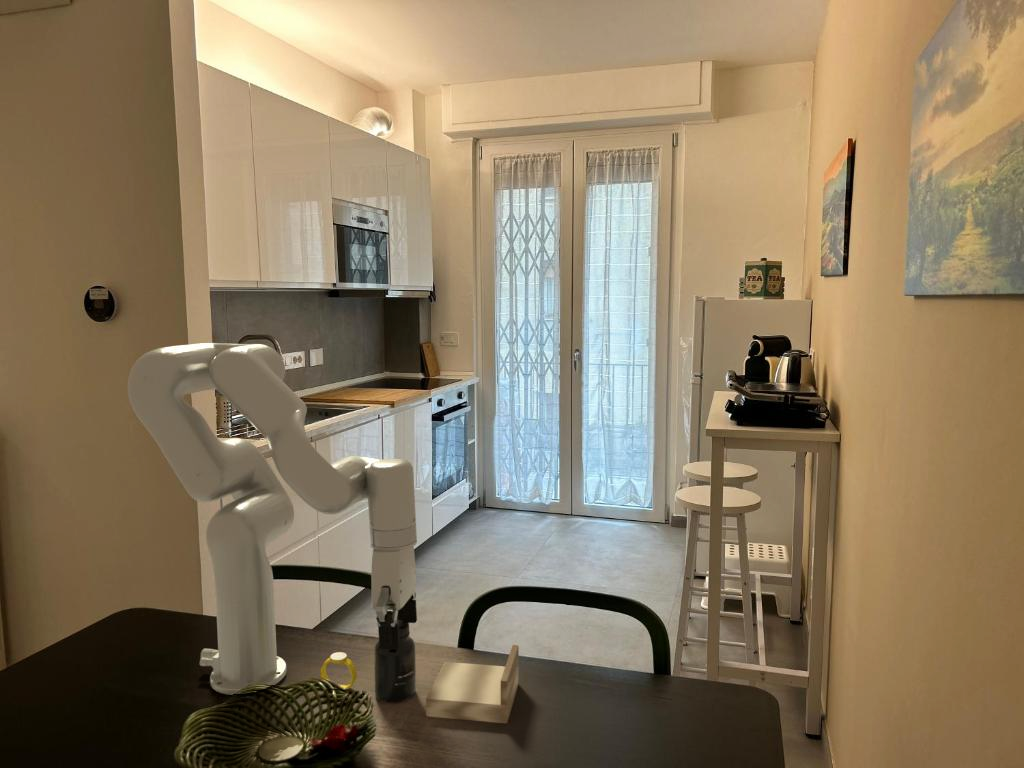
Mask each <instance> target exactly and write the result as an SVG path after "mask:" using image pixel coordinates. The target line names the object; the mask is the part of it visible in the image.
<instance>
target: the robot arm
mask: <svg viewBox="0 0 1024 768" xmlns="http://www.w3.org/2000/svg"><path fill="white" fill-rule="evenodd" d="M283 359H284V358H282V356H281V355H280V354H279V352H278V351H277V350H275V349H274V348H273V347H271V346H268V345H267V344H266V345H265V344H261V343H249V344H248V343H219V342H217V343H216V342H202V343H200V342H199V343H192V344H191V343H190V344H180V345H171V346H170V345H169V346H163V347H159V348H156V349H152V350H150V351H148V352H145V353H144V354H142V355H141V356H140V357H139V358H138V359H136V361H135V363H134V364H133V365H132V367H131V369H130V372H129V374H128V379H127V396H128V400H129V404H130V406H131V408H132V410H133V412H134V413H135V415H136V417H137V418H138V420H139V421H140V422H141V424H142V425H143V426H144V428H145V429H146V430H147V431H148V432H149V434H150V435H151V437H152V438H153V440H154V441H155V443H156V444H157V446H158V447H159V449H160V450H161V452H162V454H163V456H164V458H165V459H166V460H167V462H168V464H169V465H170V468H171V469H172V471H173V472H174V474H175V476H176V477H177V478H178V481H180V483H181V485H182V486H183V488H184V489H185V491H186V492H187V494H188V495H189V497H191V498H192V499H193V500H195V501H197V502H198V503H204V504H206V503H207V504H208V503H213V502H217V501H219V500H221V499H223V498H226V497H228V496H230V495H231V497H232V498H233V501H231V502H229V503H227V504H226V505H223V506H222V507H220V509H218V510H217V511H215V512H214V514H213V515H212V517H211V518H210V519H209V522H208V524H207V525H206V526H207V527H206V531H205V539H206V544H207V545H206V546H207V548H208V552H209V557H210V560H211V564H212V572H213V578H214V579H213V580H214V582H213V583H214V596H215V608H216V610H215V611H216V627H217V628H216V629H217V649H214V648H203V649H202V650H201V652H200V660H199V665H200V667H211V668H212V669H213V670H212V672H211V674H210V676H209V683H210V687H211V688H212V689H213V690H215V691H216V692H218V693H220V694H222V695H223V694H224V695H230V696H234V695H233V694H235V693H237V692H238V691H240V690H241V689H243V688H245V687H247V686H249V685H252V684H256V683H261V684H269V685H274V686H275V685H277V684H278V683H279V682H280V681H282V679H284V677H285V676H286V674H287V663H286V661H285V660H284V659H283V658H282V657H280V656H277V654H278V653H277V652H278V651H277V636H276V635H277V631H276V628H277V627H276V609H275V605H276V604H275V588H274V575H273V574H274V573H273V568H272V565H271V563H270V561H269V558H268V556H267V553H266V548H267V546H269V545H270V544H271V543H273V542H275V541H277V540H278V539H279V538H280V537H282V536H283V535H285V534H286V533H287V532H288V531H289V529H290V528H291V527H292V524H293V523H294V519H295V510H294V504H293V503H292V500H291V497H290V496H289V494H288V492H287V491H286V489H285V487H284V486H283V484H282V482H281V481H280V480H279V478H278V476H277V475H276V473H275V472H274V470H273V468H272V466H271V465H270V463H269V462H268V460H267V459H266V457H265V456H264V454H263V453H262V452H261V450H260V449H259V447H257V446H255V445H254V444H253V443H252V442H250V441H249V440H246V439H244V438H240V437H229V438H226V439H222V440H219V438H218V437H217V436H216V435H215V433H214V432H213V430H212V429H211V427H210V425H209V424H208V422H207V419H205V418H204V416H203V415H202V414H201V413H200V412H199V411H198V409H197V410H196V408H194V407H193V406H192V405H191V404H189V403H187V402H186V400H185V399H184V396H185V395H191V394H194V393H195V394H196V393H198V392H199V393H200V392H205V391H210V390H216V391H218V392H219V393H220V394H221V396H223V398H224V399H226V401H227V402H228V403H229V404H231V405H232V406H233V407H234V409H236V410H237V411H238V412H239V413H240V415H242V416H243V418H245V419H246V421H248V422H249V423H250V424H251V425H252V427H254V428H255V429H256V430H257V431H258V432H259V433H260V434H261V435H262V436H263V438H264V439H265V440H266V442H267V445H268V449H269V453H270V455H271V458H272V461H273V463H274V465H275V468H276V469H277V472H278V473H279V475H280V477H281V478H282V479H283V481H284V482H285V483H286V484H287V485H288V486H289V488H290V489H291V490H292V491H293V492H294V493H295V494H297V496H298V497H299V498H300V499H301V500H302V501H303V502H304V503H306V505H308V506H309V507H311V508H312V509H314V511H316V512H318V513H321V514H324V515H329V516H330V515H338V514H341V513H343V512H344V511H346V510H348V509H349V508H350V507H352V506H353V505H355V504H357V503H359V502H362V501H364V500H366V499H367V503H368V504H367V506H368V507H367V508H368V519H369V539H370V547H371V548H372V558H371V578H370V579H371V580H370V581H371V607H372V609H373V610H374V611H375V614H376V617H375V619H376V621H377V624H376V625H377V627H378V640H379V647H380V649H392V650H397V649H398V648H399V647H400V644H399V626H398V624H396V621H397V619H400V620H404V621H407V622H408V623H409V624H415V623H417V621H418V613H417V599H416V598H417V592H416V587H417V567H416V565H417V564H416V558H415V557H416V556H415V555H416V554H415V548H414V547H415V545H416V544H418V538H417V537H418V536H417V534H418V533H417V518H416V499H415V498H416V497H415V480H414V477H415V476H414V468H413V465H412V463H411V462H410V461H408V460H406V459H403V458H384V459H383V458H382V459H378V458H371V457H367V456H360V455H350V456H345V457H342V458H341V459H339V460H337V461H335V462H332V463H329V461H327V460H326V458H325V457H323V455H321V454H320V453H319V452H318V450H317V449H315V447H314V446H313V444H312V443H311V441H310V440H309V438H308V435H307V433H306V430H305V429H306V428H305V420H306V415H307V412H308V407H307V405H306V402H304V400H302V399H301V398H300V397H299V396H298V395H297V394H296V393H295V392H294V391H293V390H292V389H291V388H290V387H289V386H288V385H287V384H286V383H285V382H284V378H285V375H286V365H285V362H284V360H283ZM390 604H393V605H390ZM388 612H392V613H391V615H390V614H389V613H388Z"/></svg>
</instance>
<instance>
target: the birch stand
mask: <svg viewBox="0 0 1024 768" xmlns="http://www.w3.org/2000/svg"><path fill="white" fill-rule="evenodd" d="M511 646H512V647H511V648H510V652H509V654H508V658H507V661H506V664H505V666H503V665H501V666H500V665H490V664H480V663H477V664H476V663H466V662H465V663H464V662H452V661H444V662H443V665H442V666H441V668H440V671H439V672H438V674H437V676H436V678H435V680H434V682H433V684H432V686H431V687H430V689H429V692H428V693H427V696H426V697H425V712H426V713H425V715H426V717H429V718H431V717H432V718H442V719H453V720H461V721H462V720H464V721H475V722H484V723H485V722H486V723H495V724H508V721H509V718H510V714H511V711H512V708H513V705H514V701H515V698H516V694H517V691H518V687H519V679H520V678H519V677H520V676H519V675H520V674H519V671H520V670H519V669H520V668H519V660H520V659H519V652H520V651H519V649H520V648H519V645H517V644H512V645H511Z"/></svg>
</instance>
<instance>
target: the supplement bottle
mask: <svg viewBox="0 0 1024 768" xmlns="http://www.w3.org/2000/svg"><path fill="white" fill-rule="evenodd" d="M396 624H398V626H399V644H400V647H399V648H398V649H397V650H392V649H380V647H379V639H377V641H376V643H375V644H374V649H373V650H374V651H373V654H374V655H373V656H374V660H373V662H374V666H373V667H374V694H375V696H376V697H377V699H379V700H380V701H382V702H385V703H401V702H404V701H406V700H409V699H410V698H411V697H413V696H414V694H415V692H416V687H417V686H416V682H417V681H416V676H417V675H416V643H415V640H414V639H413V638H412V637H411V636H410V635H411V633H410V623H408V622H407V621H404V620H400V619H398V618H397V621H396Z"/></svg>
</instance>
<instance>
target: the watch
mask: <svg viewBox="0 0 1024 768" xmlns="http://www.w3.org/2000/svg"><path fill="white" fill-rule="evenodd" d="M329 663H333V664H344V665H345V666H347V669H349V671H350V675H351V676H350V677H351V680H350V683H349V684H347V685H346V684H339V685H340V686H341V687H343V688H345V689H348V690H349V689H350V688H351V687H352V686H353V685H354V684H355V682H356V679H357V668H356V666H355V664H354V662H353V661H352V660H351V659H349V658H348V655H347V653H345V652H341V651H338V652H333V653H332V654H330V656H329V657H328V658H327V659H326V660H325V661H324V662H323V664H322V666H321V667H320V678H321V679H322V678H323V679H328V680H330V679H329V677H328V673H327V665H328V664H329Z"/></svg>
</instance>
